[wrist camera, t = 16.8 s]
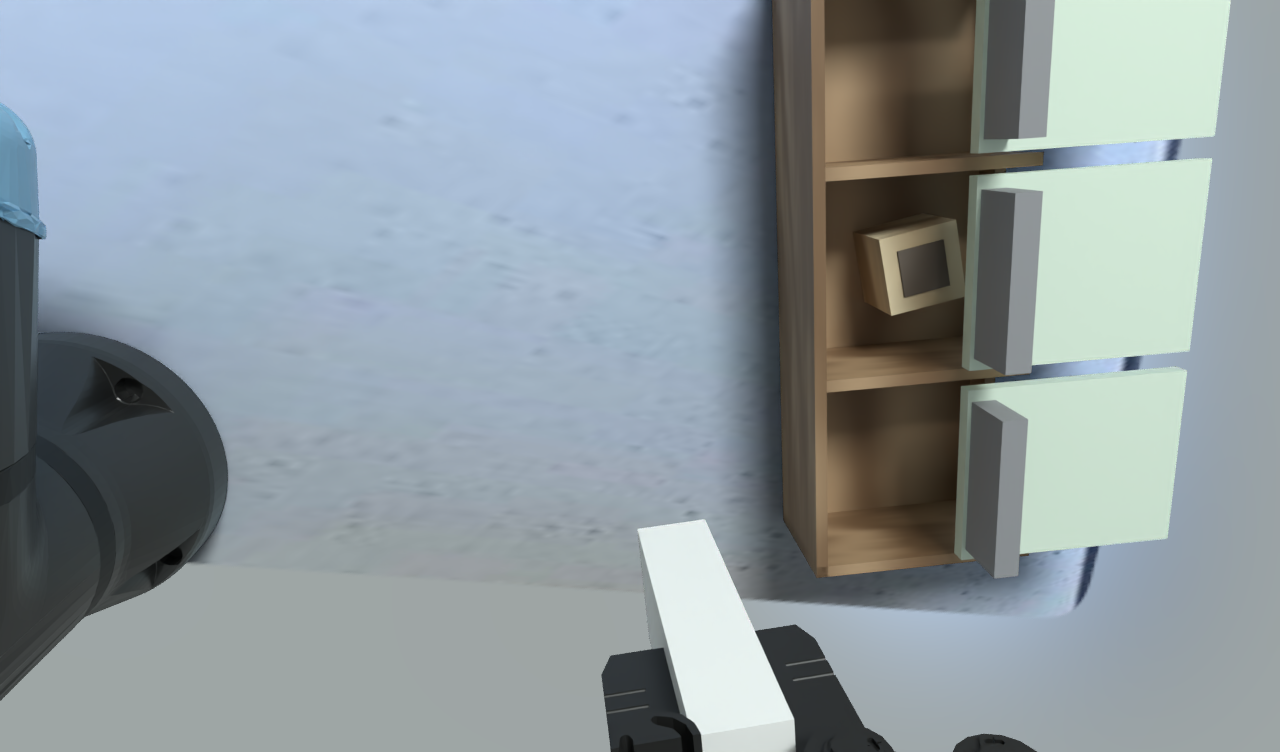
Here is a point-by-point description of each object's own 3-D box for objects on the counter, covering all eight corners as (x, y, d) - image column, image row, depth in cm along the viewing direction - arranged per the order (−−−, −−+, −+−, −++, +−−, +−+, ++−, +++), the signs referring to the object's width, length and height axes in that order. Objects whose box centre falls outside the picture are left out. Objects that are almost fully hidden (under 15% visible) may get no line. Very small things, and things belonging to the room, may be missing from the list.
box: (783, 520, 50) (816, 577, 44) (771, -42, 42) (810, -78, 35) (968, 501, 51) (1028, 555, 44) (992, -55, 43) (1072, -92, 36)
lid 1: (970, 153, 38) (1013, 154, 34) (979, -68, 36) (1026, -93, 32) (1202, 136, 39) (1267, 135, 35) (1226, -82, 36) (1300, -107, 33)
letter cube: (864, 301, 46) (892, 316, 42) (852, 231, 45) (879, 240, 41) (934, 283, 46) (969, 296, 42) (924, 213, 45) (958, 219, 41)
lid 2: (961, 366, 41) (1000, 388, 37) (969, 175, 38) (1011, 178, 35) (1178, 347, 42) (1236, 366, 38) (1199, 158, 39) (1264, 159, 35)
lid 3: (954, 552, 44) (989, 590, 40) (960, 386, 41) (999, 409, 38) (1157, 531, 44) (1209, 566, 41) (1175, 366, 42) (1233, 387, 38)
